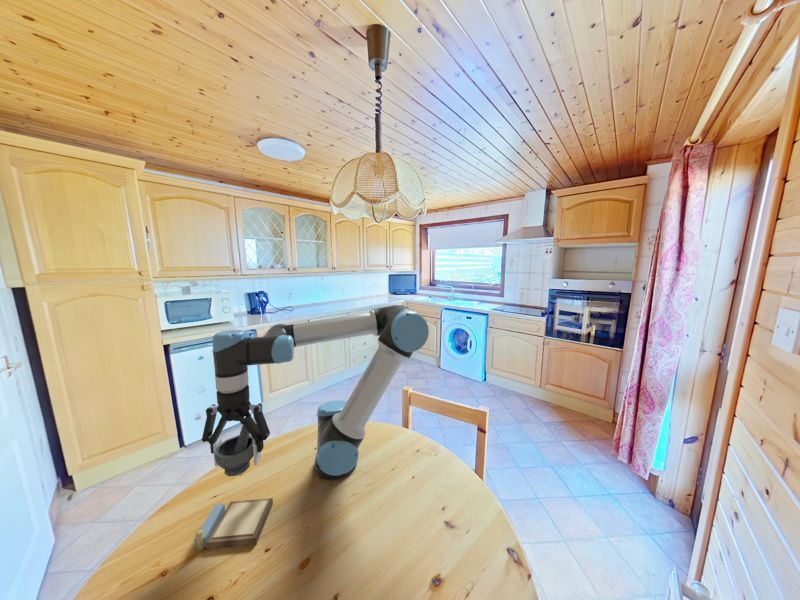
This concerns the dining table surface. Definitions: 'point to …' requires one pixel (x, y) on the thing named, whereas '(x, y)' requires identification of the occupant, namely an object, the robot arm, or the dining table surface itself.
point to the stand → (240, 524)
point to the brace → (209, 526)
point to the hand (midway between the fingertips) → (238, 462)
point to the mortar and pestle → (235, 453)
